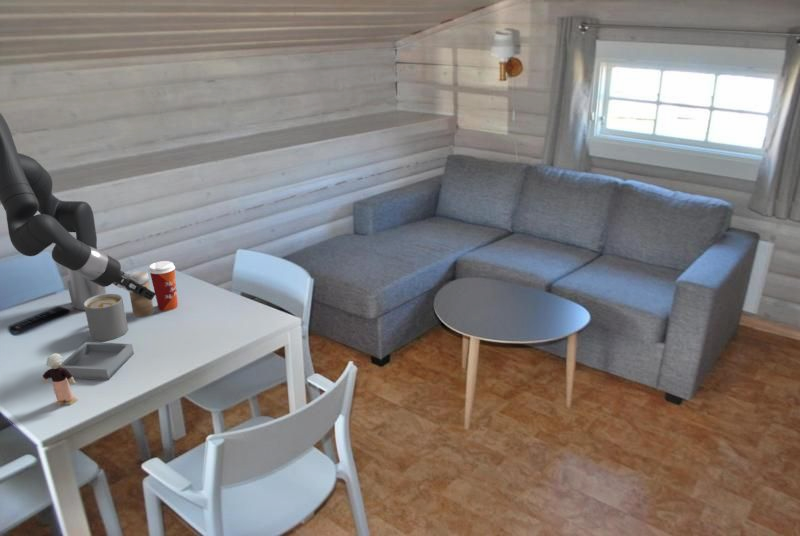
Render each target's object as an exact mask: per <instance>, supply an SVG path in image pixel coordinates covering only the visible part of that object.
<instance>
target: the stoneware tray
mask: <svg viewBox="0 0 800 536" xmlns="http://www.w3.org/2000/svg"><path fill="white" fill-rule="evenodd" d="M134 354H135V352H134V347H133V343H116V342H115V343H114V342H89V341H85V342H84V343H83V344H82V345H81V346H80V347H79V348H76V350H75V351H74V352H73V353H71V354H70V356H68V357H67V358H66V359H65V360H64V361H62V365H61V368H65V369H67V371H68V372H69V373H70V374H71V375H72V377H73V378H74V379H80V380H81V379H82V380H103V381H104V380H105V381H108V380H111V378H112V377H113V376H114V375H115V374H116V373H117V372H118V371H119V370H120V369H121V368H122V367H123V366H124V365H125V364H126V363H127V362H128V361H129V360H130V358H132V356H133V355H134Z"/></svg>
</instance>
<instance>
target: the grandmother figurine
mask: <svg viewBox="0 0 800 536" xmlns="http://www.w3.org/2000/svg"><path fill="white" fill-rule="evenodd" d="M62 358H63V357H62V355H61V354H59V353H57V352H55V353H53V354H51V355H49V356H48V358H47V360H46V363H45V365H46V367H47V368H49V369H47V370H46V371H45V372H44V373H43V374H42V380H41V382H42V383H43V384H47V383H48V379H51V382H52V387H53V391H54V394H55V397H56V400H57V401H56V406H61V405H64V404H65V405H67V406H71V405H73V404H75V403H76V402H77V401H79V400H78V398H77V397H76V396H73V394H72V390H71V386H72V385H75V384H76V383H77V381H76V380H75V378H73V377H72V375H71V374H70V373H69V372H68V371H67V369H65V368H61V365H62V363H63V359H62ZM70 384H71V386H70Z"/></svg>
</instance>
